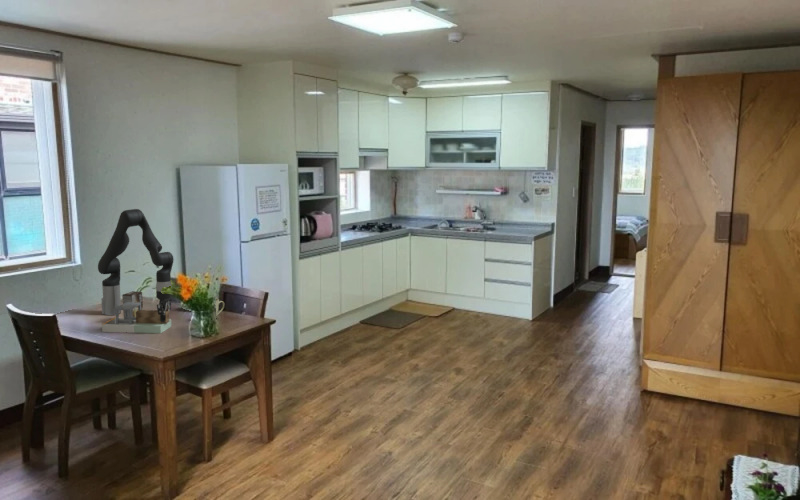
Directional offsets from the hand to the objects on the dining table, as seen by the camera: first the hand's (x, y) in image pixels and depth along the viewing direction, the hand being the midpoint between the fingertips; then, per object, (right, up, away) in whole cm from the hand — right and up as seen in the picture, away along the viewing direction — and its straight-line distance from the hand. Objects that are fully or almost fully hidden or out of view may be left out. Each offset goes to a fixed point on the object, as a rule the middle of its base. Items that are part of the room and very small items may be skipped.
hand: (164, 320), depth 312 cm
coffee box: (-25, -3, +17) cm, 30 cm away
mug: (+18, -3, +23) cm, 29 cm away
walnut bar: (-7, -1, 0) cm, 7 cm away
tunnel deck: (-15, -5, +1) cm, 16 cm away
